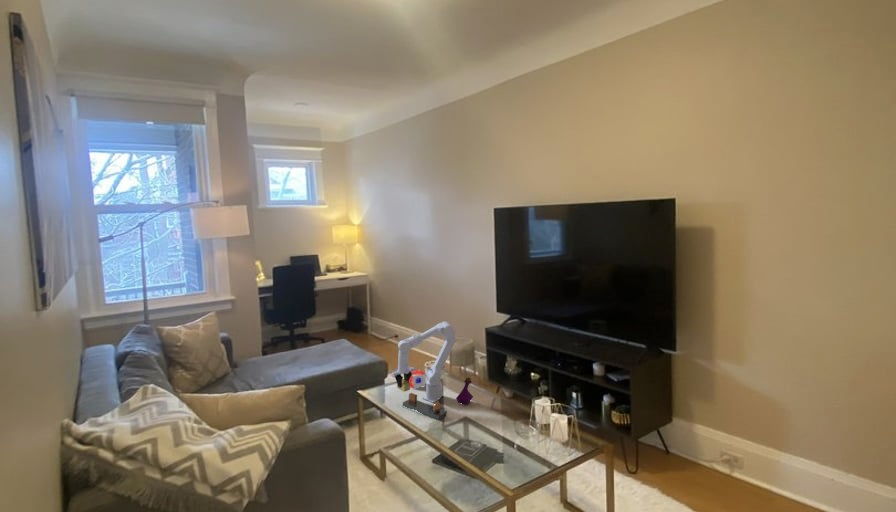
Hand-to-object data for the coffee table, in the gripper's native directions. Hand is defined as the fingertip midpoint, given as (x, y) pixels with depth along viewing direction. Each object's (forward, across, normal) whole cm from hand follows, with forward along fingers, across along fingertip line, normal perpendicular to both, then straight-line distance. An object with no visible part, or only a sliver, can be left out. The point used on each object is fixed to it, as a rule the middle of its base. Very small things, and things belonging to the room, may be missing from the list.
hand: (402, 386), depth 260 cm
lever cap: (+1, 0, -1) cm, 2 cm away
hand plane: (+8, +1, -17) cm, 19 cm away
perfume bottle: (+9, +25, -24) cm, 36 cm away
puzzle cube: (+9, +19, +11) cm, 24 cm away
